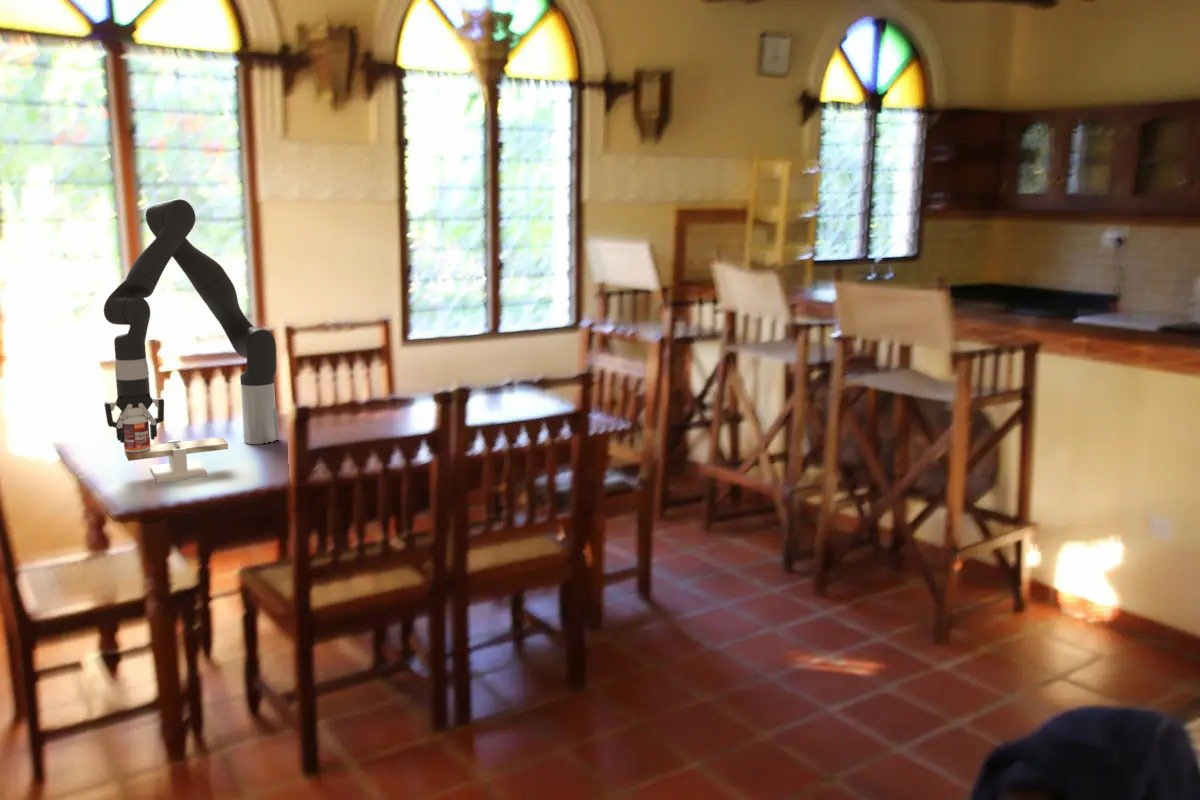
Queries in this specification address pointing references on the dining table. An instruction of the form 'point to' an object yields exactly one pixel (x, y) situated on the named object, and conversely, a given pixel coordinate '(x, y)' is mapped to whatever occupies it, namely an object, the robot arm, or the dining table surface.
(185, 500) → the dining table surface
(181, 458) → the pivot stand
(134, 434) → the pill bottle
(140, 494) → the dining table surface
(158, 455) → the board
